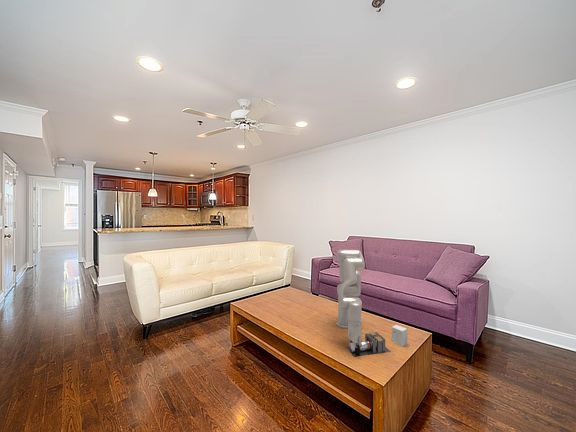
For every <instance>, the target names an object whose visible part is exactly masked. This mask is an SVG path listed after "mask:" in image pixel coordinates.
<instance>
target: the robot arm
mask: <svg viewBox="0 0 576 432" xmlns="http://www.w3.org/2000/svg"><path fill="white" fill-rule="evenodd" d="M336 258H337V261H338V265H339V269H338V271H339V273H338V276H339V280H340V282H342V283H339V284H337V286H336V287H337V288H336V291H337V304H338V305H337V307H338V309H337V321H335V324H336V326H338V327H339V328H342V329H347V337H348V339H349V343H355V354H360V348H361V346H362V343H361V342H362V341H363V338H362V337H363V334H362V306H363V305H362V304H363V303H362V301H363V300H361V298H360V297H359V296H361V293H362V292H361V291H362V275H361V274H362V273H361V272H360V271H363V270H365V268H366V263H365V259H364V256H363V253H362V252H361V250H360V249H339V250H337V251H336ZM357 343H358V344H359V345H357Z"/></svg>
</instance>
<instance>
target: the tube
mask: <svg viewBox="0 0 576 432" xmlns="http://www.w3.org/2000/svg"><path fill="white" fill-rule="evenodd" d="M361 343H362V346H361V348H360V351H362V350H370V349H372V341H371V340H369V341H365V340H362V342H361ZM357 345H359V344H358V343H357ZM348 347H349V348H350V351H351V352H355V343H350V342H349V343H348ZM376 348H377V340H376Z"/></svg>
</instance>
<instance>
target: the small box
mask: <svg viewBox="0 0 576 432" xmlns="http://www.w3.org/2000/svg"><path fill="white" fill-rule="evenodd" d="M391 342H392V343H395V344H396V345H399V346H400V347H405V346H408V328H406V327H404V326H402V325H398V324H395V325H392V326H391Z"/></svg>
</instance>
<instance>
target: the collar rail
mask: <svg viewBox="0 0 576 432" xmlns="http://www.w3.org/2000/svg"><path fill="white" fill-rule="evenodd" d="M364 338H365V339H364V341H369V340H371V341H372V349H370V350H362V351H360V354H355V352H351V351H350V348H349V346H348V347H345V349H346V350H348V351H349V353H350V354H351V355H352V356H353V358H357V357H363V356H372V355H378V354H386V353H392V351H391V350H390V349H389V348H388V347H387V346H386V338H384V337H383V336H382V335H381V334H379V332H377V331H375V332H374V331H370V332H368V333H365V334H364ZM376 340H377V348H376Z"/></svg>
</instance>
